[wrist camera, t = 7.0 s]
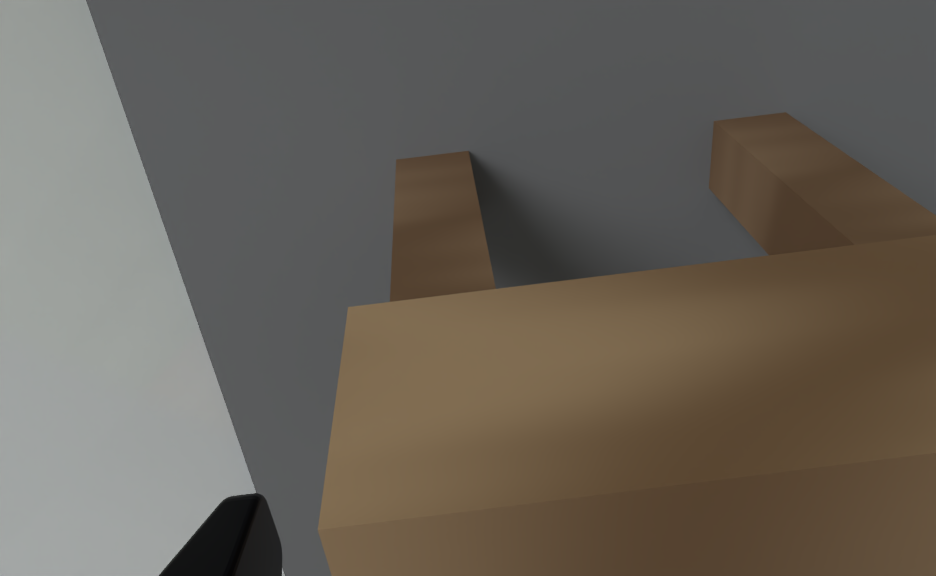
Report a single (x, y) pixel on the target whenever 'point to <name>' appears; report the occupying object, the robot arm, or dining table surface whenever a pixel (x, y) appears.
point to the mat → (491, 154)
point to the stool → (648, 390)
